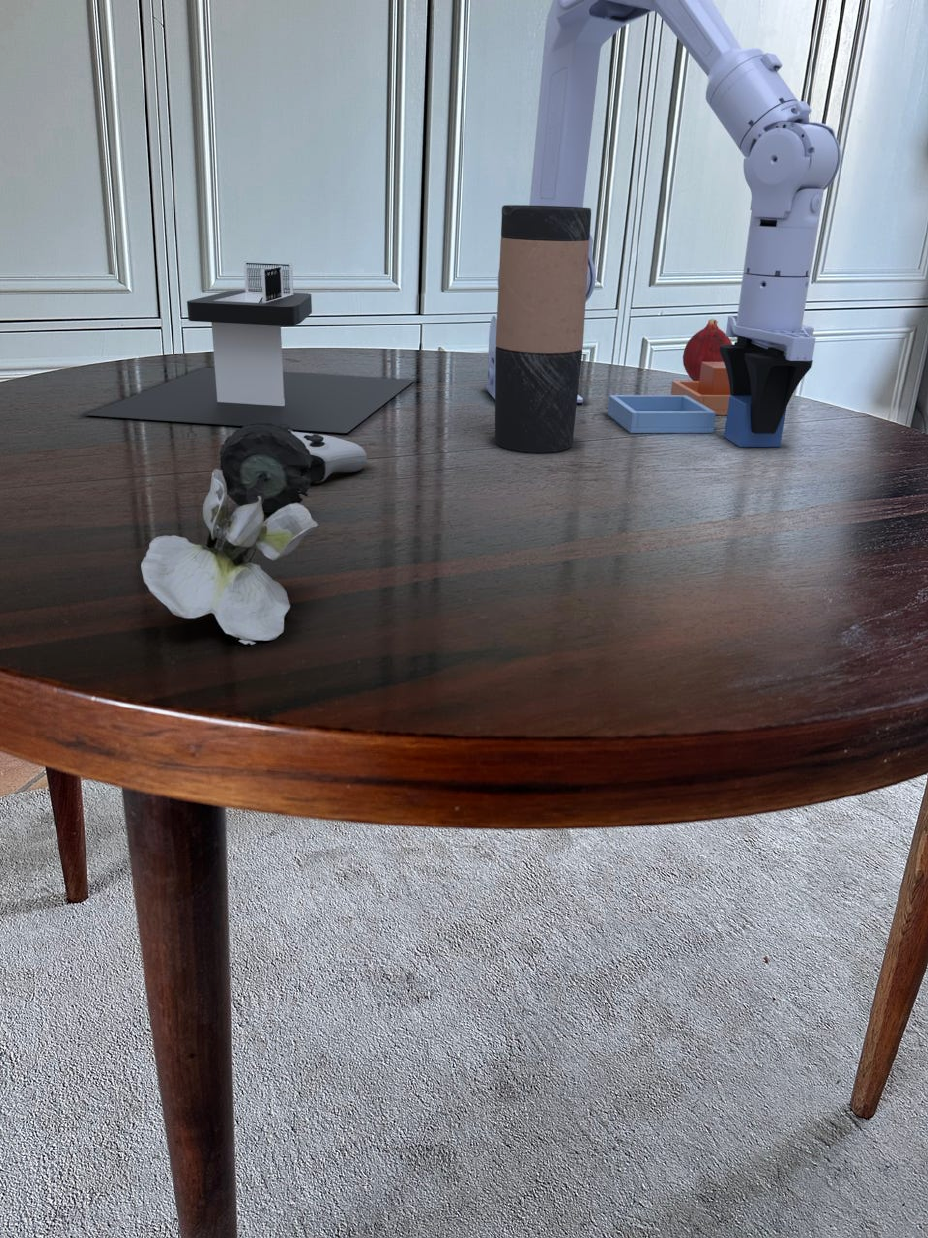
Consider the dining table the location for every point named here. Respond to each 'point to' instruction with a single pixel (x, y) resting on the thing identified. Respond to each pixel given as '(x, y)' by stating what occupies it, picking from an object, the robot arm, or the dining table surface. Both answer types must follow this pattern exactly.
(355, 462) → the game controller
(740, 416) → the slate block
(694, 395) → the terracotta tray
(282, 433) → the artificial flower
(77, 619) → the dining table surface
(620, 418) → the slate tray
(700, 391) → the rust block
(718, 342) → the onion
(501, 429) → the travel mug
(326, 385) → the black-topped pedestal
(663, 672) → the dining table surface
